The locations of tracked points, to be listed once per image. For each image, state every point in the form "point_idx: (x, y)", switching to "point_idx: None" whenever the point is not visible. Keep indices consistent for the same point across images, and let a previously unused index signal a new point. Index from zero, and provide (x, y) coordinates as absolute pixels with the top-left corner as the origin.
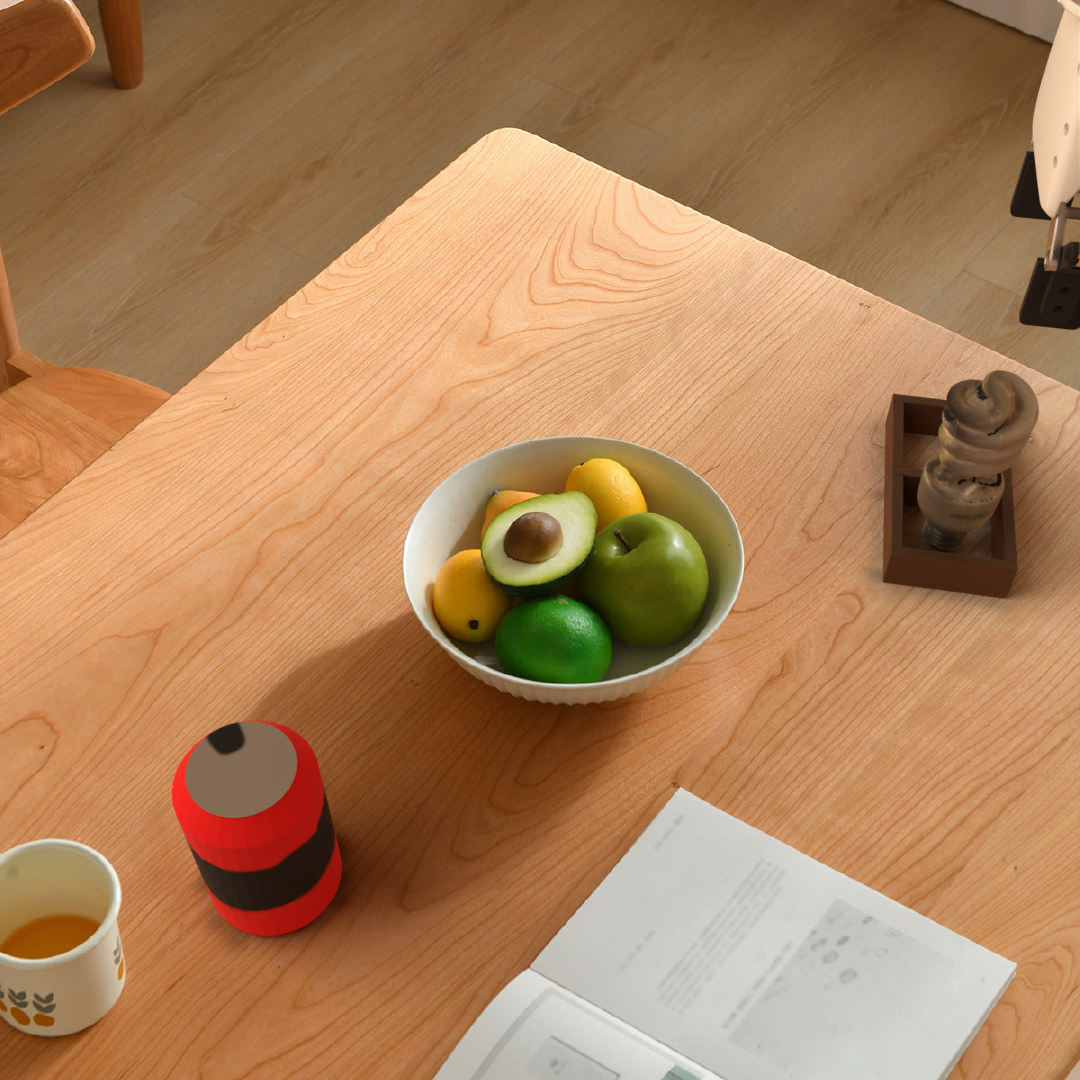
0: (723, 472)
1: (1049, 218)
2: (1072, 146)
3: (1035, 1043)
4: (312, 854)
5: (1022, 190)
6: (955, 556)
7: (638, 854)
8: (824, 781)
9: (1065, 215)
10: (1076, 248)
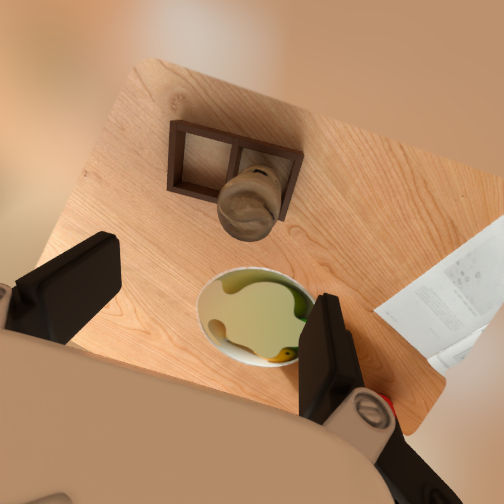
0: (214, 265)
1: (118, 254)
2: None
3: None
4: (399, 433)
5: (96, 311)
6: (289, 189)
7: (397, 326)
8: (387, 263)
9: None
10: None
